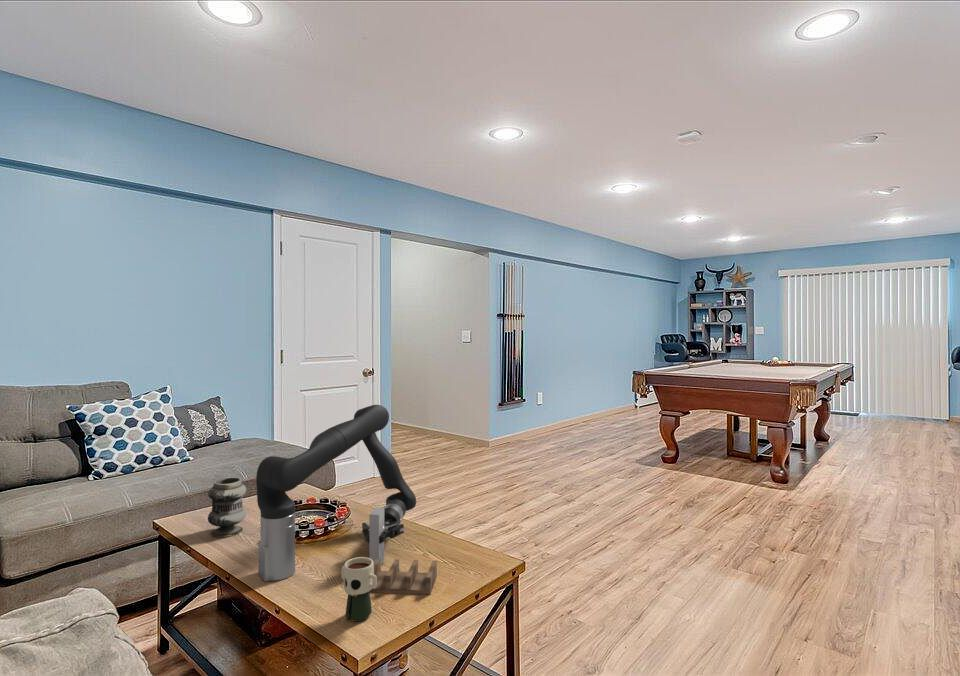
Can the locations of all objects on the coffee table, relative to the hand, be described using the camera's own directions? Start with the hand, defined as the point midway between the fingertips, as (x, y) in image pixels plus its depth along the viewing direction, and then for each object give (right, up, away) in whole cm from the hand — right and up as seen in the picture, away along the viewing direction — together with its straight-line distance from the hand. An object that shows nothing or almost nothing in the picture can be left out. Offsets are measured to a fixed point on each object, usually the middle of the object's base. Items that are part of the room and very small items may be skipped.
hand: (374, 539), depth 152 cm
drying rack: (+9, -9, -9) cm, 16 cm away
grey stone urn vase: (-56, -8, +27) cm, 63 cm away
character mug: (+1, -9, -25) cm, 27 cm away
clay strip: (0, -8, +3) cm, 9 cm away
